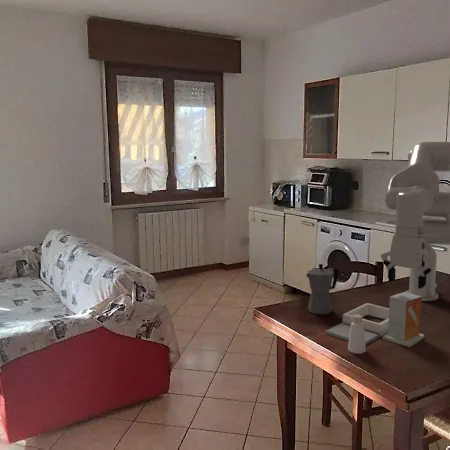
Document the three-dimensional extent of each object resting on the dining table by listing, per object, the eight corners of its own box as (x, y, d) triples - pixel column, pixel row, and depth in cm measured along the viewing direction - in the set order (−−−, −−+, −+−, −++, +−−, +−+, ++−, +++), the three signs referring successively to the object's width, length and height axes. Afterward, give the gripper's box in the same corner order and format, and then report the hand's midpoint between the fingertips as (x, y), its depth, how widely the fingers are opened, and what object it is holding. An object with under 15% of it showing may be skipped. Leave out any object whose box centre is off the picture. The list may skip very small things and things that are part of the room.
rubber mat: (397, 330, 159) (397, 327, 159) (424, 337, 152) (424, 334, 152) (382, 338, 152) (382, 335, 152) (409, 347, 146) (409, 344, 145)
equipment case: (366, 313, 175) (367, 302, 174) (403, 323, 165) (403, 312, 164) (325, 333, 157) (325, 322, 156) (363, 346, 147) (364, 333, 146)
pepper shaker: (349, 345, 148) (350, 311, 146) (367, 348, 145) (368, 314, 144) (345, 352, 143) (346, 317, 141) (364, 355, 141) (365, 320, 139)
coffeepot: (314, 317, 172) (315, 269, 168) (298, 310, 180) (298, 263, 177) (346, 309, 179) (347, 263, 176) (329, 302, 187) (330, 258, 184)
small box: (404, 341, 147) (406, 301, 145) (387, 335, 152) (389, 296, 150) (420, 335, 152) (422, 296, 150) (402, 329, 157) (404, 291, 155)
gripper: (442, 232, 143) (438, 287, 146) (388, 225, 155) (386, 276, 158) (431, 237, 138) (428, 293, 141) (376, 229, 150) (375, 281, 153)
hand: (406, 284), depth 150 cm, fingers open, 9 cm apart
